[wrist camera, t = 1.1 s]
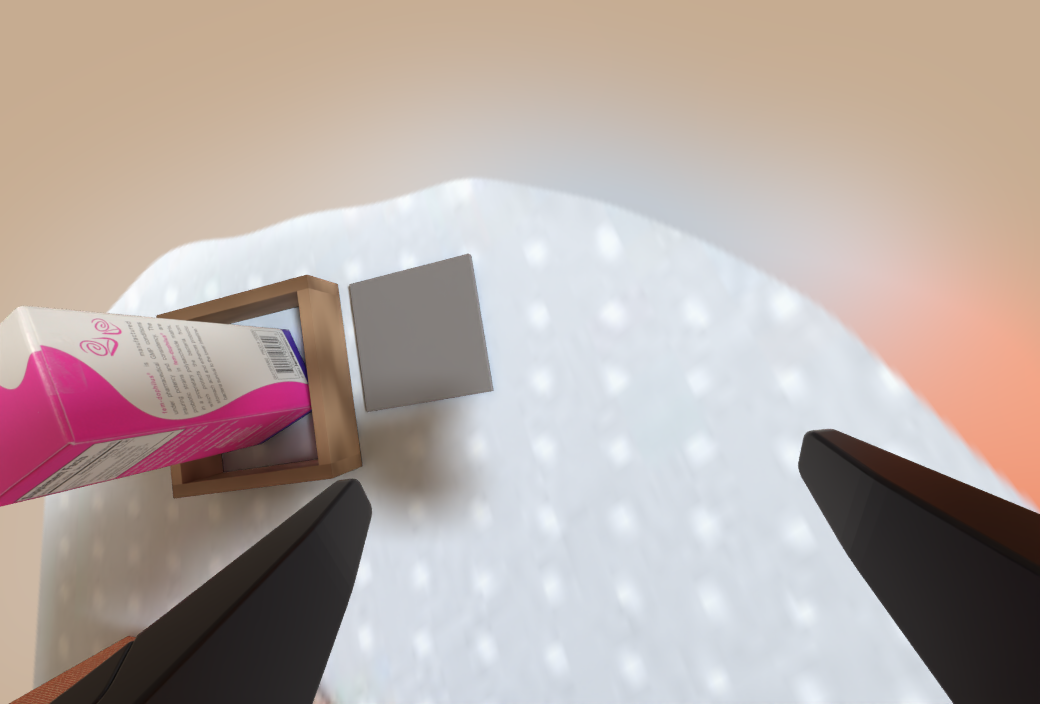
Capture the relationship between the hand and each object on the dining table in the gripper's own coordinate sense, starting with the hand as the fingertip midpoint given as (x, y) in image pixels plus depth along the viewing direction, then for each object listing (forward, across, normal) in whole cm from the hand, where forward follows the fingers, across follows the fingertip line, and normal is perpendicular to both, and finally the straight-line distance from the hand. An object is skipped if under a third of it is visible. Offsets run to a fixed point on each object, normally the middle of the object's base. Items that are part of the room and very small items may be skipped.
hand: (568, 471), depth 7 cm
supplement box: (+15, +19, +4) cm, 24 cm away
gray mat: (+14, +8, +2) cm, 17 cm away
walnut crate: (+14, +19, +4) cm, 24 cm away
